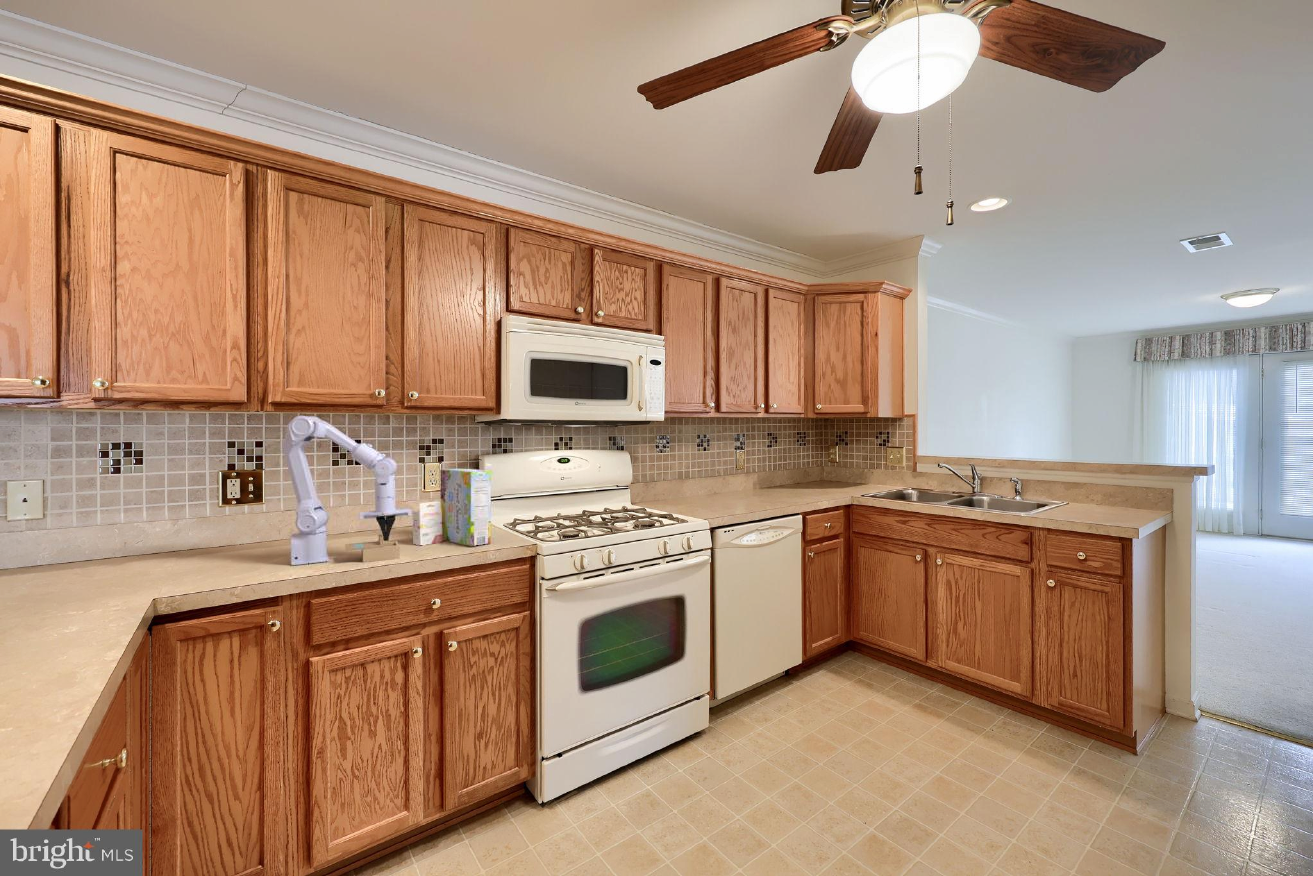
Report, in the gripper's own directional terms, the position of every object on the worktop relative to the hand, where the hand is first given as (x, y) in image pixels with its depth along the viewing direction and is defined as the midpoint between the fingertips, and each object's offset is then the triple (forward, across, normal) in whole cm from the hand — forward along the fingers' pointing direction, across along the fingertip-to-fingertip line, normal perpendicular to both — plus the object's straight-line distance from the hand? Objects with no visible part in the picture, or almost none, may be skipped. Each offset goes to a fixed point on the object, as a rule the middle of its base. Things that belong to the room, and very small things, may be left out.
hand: (385, 540), depth 175 cm
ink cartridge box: (+6, +14, +16) cm, 22 cm away
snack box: (+6, +26, +12) cm, 30 cm away
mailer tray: (+5, -2, 0) cm, 6 cm away
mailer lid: (+1, -6, 0) cm, 6 cm away
